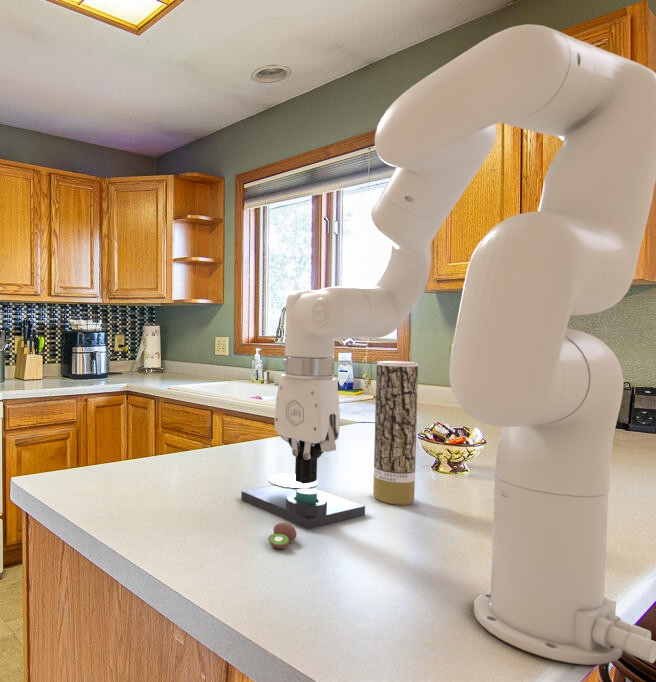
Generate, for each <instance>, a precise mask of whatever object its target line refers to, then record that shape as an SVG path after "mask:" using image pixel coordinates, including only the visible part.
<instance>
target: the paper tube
mask: <svg viewBox="0 0 656 682" xmlns="http://www.w3.org/2000/svg"><path fill="white" fill-rule="evenodd" d="M376 362H377V363H376V370H375V371H376V372H375V408H374V409H375V411H374V446H373V447H374V449H373V452H374V453H373V488H372V489H373V493H372V494H373V497H374V498H375V500H377V501H379V502H381V503H385V504H387V505H388V504H389V505H395V506H407V505H410V504H412V503H413V502H414V501H415V486H416V459H417V458H416V457H417V455H416V454H417V425H418V424H417V423H418V394H419V393H418V387H419V386H418V385H419V363H418V362H415V361H404V360H403V361H402V360H401V361H400V360H378V361H376Z"/></svg>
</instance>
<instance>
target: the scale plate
mask: <svg viewBox="0 0 656 682" xmlns="http://www.w3.org/2000/svg"><path fill="white" fill-rule="evenodd" d="M268 483H269V484H270V485H271V486H273V485H274V486H277V487H281V488H286V489H294V490H297V489H301V488H306V489H312V488H315V489H316V488H317V486H318V481H317V480H316V482H313V483H307V484H302V483H300V482H296V481H295V473H294V474H293V473H279V474H273V475H270V476H269V477H268Z"/></svg>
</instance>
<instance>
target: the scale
mask: <svg viewBox="0 0 656 682" xmlns="http://www.w3.org/2000/svg"><path fill="white" fill-rule="evenodd" d="M312 490H315V491H316V492H317V503H314V504H306V503H300V502H298V501H296V490H294V489H286V488H281V487H277V486H274V485H267V486H263V487H257V488H251V489H247V490H241V495H240V496H241V498H240V499H241V501H243V502H244V503H247V504H249V505H251V506H254V507H256V508H258V509H260V510H263V511H265V512H267V513H270V514H272V515H273V516H274V515H275V516H277V517H278V518H280V519H284V520H285V521H288V522H291V523H293V524H295V525H297V526H299V527H301V528H304V529H306V530H313V529H317V528H321V527H325V526H330V525H333V524H337V523H341V522H345V521H349V520H354V519H357V518H361V517H365V516H366V505H363V504H361V503H357V502H354V501H352V500H350V499H346V498H344V497H340V496H337V495H336V494H332V493H329V492H326V491H323V490H320V489H317V488H316V487H315V488H312Z"/></svg>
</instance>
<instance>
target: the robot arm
mask: <svg viewBox="0 0 656 682" xmlns="http://www.w3.org/2000/svg"><path fill="white" fill-rule="evenodd" d="M499 123H500V124H504V125H508V126H510V127H514V128H517V129H521V130H527V131H530V132H535V133H538V134H542V135H547V136H551V137H556V138H558V139H560V140H561V141H562V145H561V146H560V147H559V149H558V150H557V152H556V153H555V155H554V157H553V159H552V160H551V162H550V165H549V166H548V169H547V171H546V174H545V177H544V180H543V186H542V192H541V198H540V202H539V206H538V209H537V210H536V211H528V212H523V213H518V214H515V215H512V216H509V217H508V218H505V219H504V220H502V221H500V222H499V223H497V224H496V225H495V226H493V227H492V228H491V229H490V230H489V231H488V232H487V233H486V234H485V235H484V236H483V237H482V239H481V240H480V242H479V243H478V244H477V246H476V248H475V250H474V251H473V253H472V255H471V258H470V261H469V263H468V266H467V269H466V274H465V278H464V283H463V287H462V294H461V298H460V303H459V309H458V315H457V320H456V325H455V329H454V335H453V341H452V346H451V351H450V358H449V366H448V367H449V369H448V371H449V372H448V373H449V375H448V377H449V384H450V389H451V391H452V395H453V397H454V398H455V401H456V402H457V404H458V405H459V407H460V408H461V409H462V410H463V411H464V412H465V413H466V414H467V415H468V416H470V417H471V418H473V419H474V420H476V421H477V422H479V423H482V424H485V425H489V426H492V427H501V431H500V434H499V437H498V438H499V439H498V443H497V447H496V455H495V472H494V473H495V474H494V489H493V491H494V494H493V495H494V496H493V522H492V523H493V524H492V549H491V550H492V551H491V579H490V581H491V583H490V591H487V592H484V593H482V594H479V595H477V597H476V598H474V602H473V614H474V617H475V619H476V620H477V622H478V623H479V624H480V625H481V626H482V627H483V628H484V629H485V630H487V631H488V632H489V633H490V634H492V635H493V636H495V637H497V639H499V640H502V641H503V642H505V643H506V644H508V645H511V646H513V647H516V648H518V649H520V650H523V651H525V652H527V653H530V654H533V655H536V656H539V657H542V658H546V659H550V660H553V661H558V662H563V663H567V664H575V665H584V666H588V665H589V666H590V665H592V666H599V665H607V664H610V663H614V662H616V661H618V660H619V659H620V658H621V657H622V655H623V653H624V652H625V653H627V654H628V655H631V656H633V657H636V658H637V659H640V660H643V661H645V662H647V663H650V664H654V663H655V662H656V641H655V640H652V631H651V630H649V629H647V628H644V627H641V626H638V625H636V624H631V623H628V622H626V621H623V620H622V618H621V617H620V616H618V615H616V611H617V602H616V601H615V600H612V599H610V598H606V597H605V585H606V584H605V582H606V581H605V580H606V558H607V557H606V556H607V534H608V532H607V531H608V513H609V512H608V509H609V507H608V506H609V493H610V483H611V482H610V481H611V464H612V453H613V446H614V445H613V443H614V438H615V437H614V436H615V431H616V428H617V427H616V426H617V423H618V419H619V414H620V410H621V405H622V401H623V394H624V375H623V369H622V367H621V364H620V361H619V359H618V357H617V356H616V354H615V353H614V352H613V350H612V349H611V348H610V347H609V346H608V345H607V344H606V343H605V342H604V341H602V340H601V339H599V338H598V337H596V336H594V335H592V334H590V333H587V332H584V331H582V330H578V329H574V328H568V326H569V322H570V317H573V316H574V317H575V316H576V317H577V316H586V315H593V314H598V313H601V312H603V311H606V310H608V309H611V308H612V307H614V306H616V305H617V304H618V303H619V302H621V300H622V299H624V297H625V296H626V294H627V293H628V292H629V290H630V288H631V285H632V283H633V280H634V278H635V274H636V270H637V266H638V261H639V256H640V251H641V248H642V243H643V240H644V237H645V236H644V235H645V232H646V228H647V223H648V218H649V216H650V215H649V214H650V211H651V206H652V203H653V199H654V198H653V197H654V191H655V185H656V72H654V71H653V70H652V69H650V68H649V67H647V66H645V65H643V64H641V63H640V62H636V61H635V60H632V59H629V58H627V57H624V56H621V55H618V54H616V53H613V52H610V51H608V50H605V49H602V48H600V47H597V46H595V45H593V44H591V43H589V42H586V41H583V40H580V39H578V38H575V37H573V36H570V35H569V34H566V33H564V32H561V31H560V30H557V29H554V28H551V27H548V26H545V25H541V24H528V23H527V24H521V25H516V26H511V27H508V28H505V29H503V30H501V31H499V32H496V33H494V34H492V35H490V36H488V37H487V38H485V39H483V40H482V41H480V42H479V43H477V44H475V45H473V46H472V47H471V48H469V49H467V50H466V51H464V52H463V53H461V54H460V55H458V56H457V57H455V58H453V59H452V60H450V61H449V62H447V63H445V64H444V65H442V66H441V67H439V68H437V69H436V70H435V71H433V72H432V73H430V74H428V75H427V76H425V77H424V78H422V79H421V80H419V81H418V82H417V83H415V84H413V85H412V86H411V87H409V88H408V89H407V90H405V91H404V92H403V93H402V94H401V95H399V97H397V98H396V99H395V100H394V101H393V102H392V103H391V104H390V106H389V107H387V109H386V111H385V112H384V114H383V115H382V117H381V118H380V120H379V122H378V124H377V127H376V130H375V134H374V149H375V151H376V154H377V156H378V158H379V159H380V160H381V161H382V162H384V163H385V164H386V165H388V166H391V167H395V170H394V171H393V173H392V174H391V176H390V178H389V180H388V181H387V183H386V186H385V187H384V188H383V190H382V192H381V194H380V196H379V197H378V199H377V200H376V202H375V204H374V205H373V208H372V209H371V212H370V215H369V218H370V223H371V224H372V225H373V227H374V228H375V229H376V231H378V233H380V234H381V235H382V236H383V237H385V238H386V239H387V240H388V243H389V258H388V261H387V264H386V266H385V268H384V270H383V272H382V273H381V275H380V277H379V278H378V280H377V281H376V283H375V284H374V286H373V287H361V286H359V287H358V286H350V287H349V286H329V287H324V288H320V289H314V290H313V289H307V290H305V289H304V290H302V289H301V290H294V291H292V292H290V293H289V294H288V295H287V297H286V303H285V304H286V305H285V336H284V337H285V338H284V340H285V341H284V359H283V360H282V366H283V367H284V374H281V376H280V377H279V382H278V386H277V392H276V399H275V408H274V430H275V432H276V433H277V434H278V435H280V439H281V440H282V441H284V442H286V443H288V444H289V447H290V448H291V453H292V455H293V457H295V462H294V463H295V464H294V465H295V469H294V474H295V481H296V482H300V483H302V484H307V483H313V482H316V481H317V479H318V459H320V458H321V457H322V455H323V454H324V453H326V452H327V453H328V452H329V453H330V452H335V451H336V450H337V445H336V441H337V440H338V439H339V436H340V427H341V415H340V414H341V411H340V398H339V389H338V383H337V379H336V378H335V375H334V373H335V371H334V369H335V342H336V341H335V340H336V339H339V340H340V339H345V340H346V339H349V340H350V339H380V338H383V337H387V336H388V335H390V334H392V333H393V332H395V331H396V330H397V329H398V328H399V327H400V326H401V325H402V324H403V323H404V321H405V320H406V319H407V318H408V316H409V315H410V314H411V312H412V311H413V309H414V308H415V307H416V305H417V304H418V302H419V301H420V299H421V297H422V296H423V294H424V292H425V290H426V288H427V284H428V281H429V276H430V272H431V271H430V270H431V264H432V242H433V241H434V239H435V237H436V235H437V234H438V232H439V231H440V229H441V228H442V226H443V225H444V224H445V222H446V221H447V219H448V217H449V215H450V214H451V212H452V211H453V210H454V208H455V206H456V205H457V203H458V202H459V200H460V199H461V198H462V196H463V194H464V193H465V191H466V190H467V189H468V187H469V185H470V184H471V183H472V181H473V180H474V178H475V176H476V175H477V173H478V172H479V170H480V169H481V168H482V166H483V164H484V163H485V162H486V160H487V158H488V157H489V155H490V153H491V152H492V150H493V148H494V145H495V143H496V139H497V125H496V124H499Z"/></svg>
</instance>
